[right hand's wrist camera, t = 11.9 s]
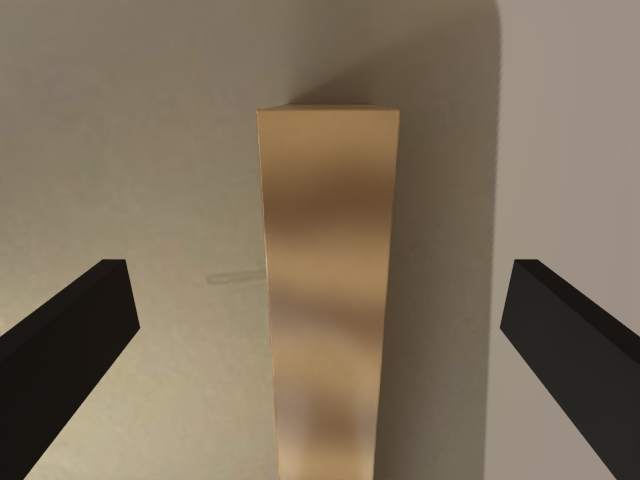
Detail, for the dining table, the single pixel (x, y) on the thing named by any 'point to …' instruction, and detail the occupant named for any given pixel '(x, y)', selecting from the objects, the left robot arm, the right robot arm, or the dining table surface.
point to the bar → (327, 279)
